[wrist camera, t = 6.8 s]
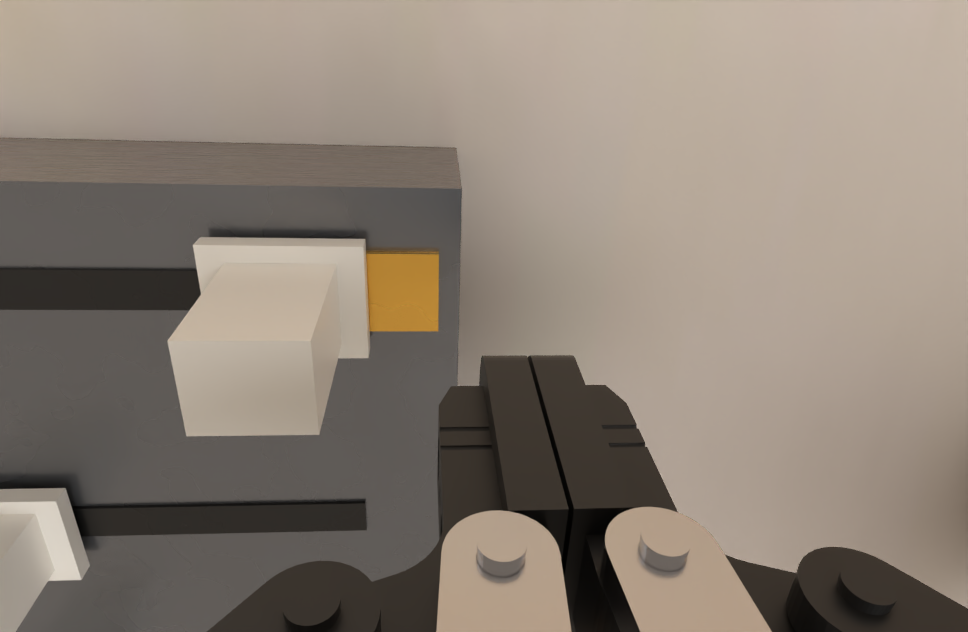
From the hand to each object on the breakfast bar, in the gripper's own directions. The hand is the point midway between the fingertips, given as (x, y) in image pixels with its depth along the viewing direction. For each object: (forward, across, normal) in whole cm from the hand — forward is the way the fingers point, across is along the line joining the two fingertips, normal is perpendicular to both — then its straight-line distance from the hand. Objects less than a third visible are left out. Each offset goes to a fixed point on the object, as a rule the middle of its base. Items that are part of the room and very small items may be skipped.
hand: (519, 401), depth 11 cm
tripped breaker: (+5, +5, 0) cm, 7 cm away
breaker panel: (+9, +9, +8) cm, 15 cm away
